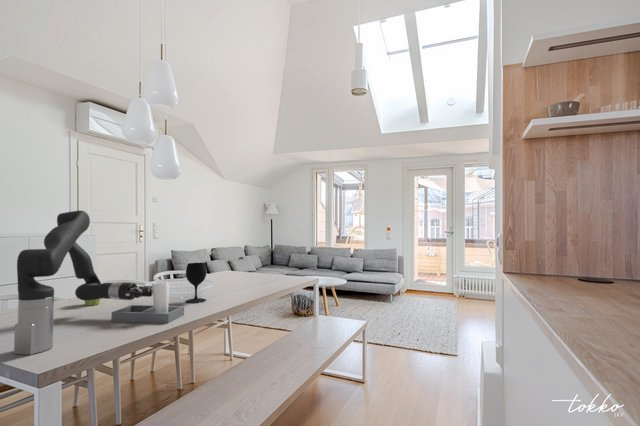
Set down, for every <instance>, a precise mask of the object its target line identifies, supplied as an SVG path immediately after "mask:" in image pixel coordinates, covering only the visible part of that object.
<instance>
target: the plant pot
mask: <svg viewBox="0 0 640 426" xmlns="http://www.w3.org/2000/svg"><path fill="white" fill-rule="evenodd" d="M100 302H101V299H96V300H84V305H85V306H86V307H87V306H89V307H90V306H96V305H99V304H100Z"/></svg>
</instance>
